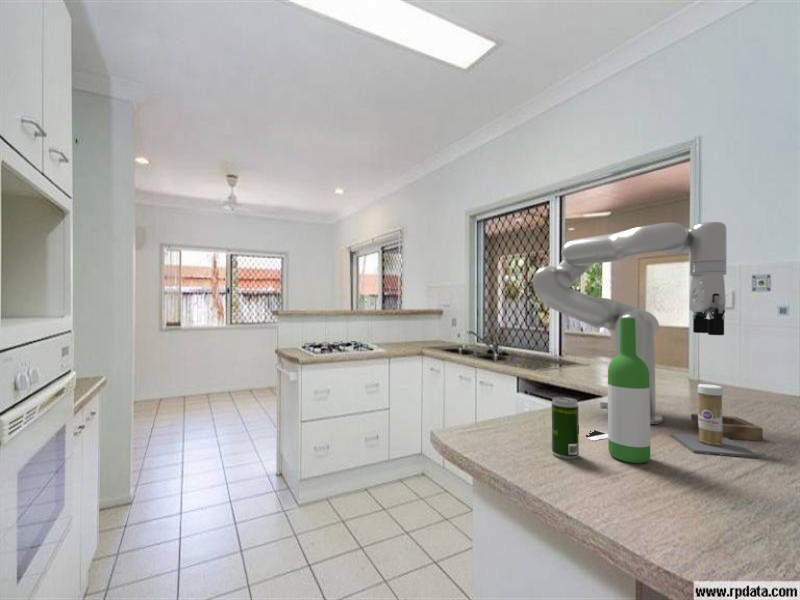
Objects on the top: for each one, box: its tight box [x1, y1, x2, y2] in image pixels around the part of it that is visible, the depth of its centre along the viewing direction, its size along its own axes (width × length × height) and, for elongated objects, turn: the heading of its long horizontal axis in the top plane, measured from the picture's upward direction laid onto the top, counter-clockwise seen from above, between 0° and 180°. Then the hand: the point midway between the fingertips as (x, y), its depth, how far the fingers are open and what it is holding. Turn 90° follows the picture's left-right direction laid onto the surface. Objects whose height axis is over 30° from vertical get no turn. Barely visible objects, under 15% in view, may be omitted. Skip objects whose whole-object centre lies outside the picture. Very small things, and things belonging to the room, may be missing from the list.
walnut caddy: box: [690, 413, 764, 441], centre depth 99 cm, size 10×10×3 cm
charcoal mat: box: [669, 433, 760, 459], centre depth 89 cm, size 12×12×1 cm
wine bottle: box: [607, 318, 651, 464], centre depth 82 cm, size 8×8×30 cm
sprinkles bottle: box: [697, 383, 724, 446], centre depth 89 cm, size 5×5×13 cm
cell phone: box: [586, 429, 608, 442], centre depth 100 cm, size 8×16×1 cm, turn 25°
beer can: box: [551, 396, 580, 460], centre depth 83 cm, size 5×5×12 cm
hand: (707, 333), depth 101 cm, fingers open, 9 cm apart
